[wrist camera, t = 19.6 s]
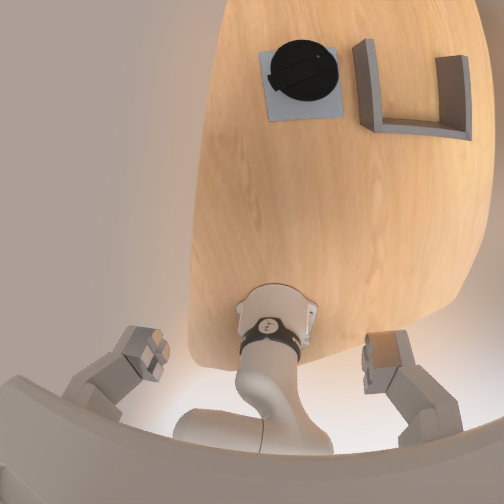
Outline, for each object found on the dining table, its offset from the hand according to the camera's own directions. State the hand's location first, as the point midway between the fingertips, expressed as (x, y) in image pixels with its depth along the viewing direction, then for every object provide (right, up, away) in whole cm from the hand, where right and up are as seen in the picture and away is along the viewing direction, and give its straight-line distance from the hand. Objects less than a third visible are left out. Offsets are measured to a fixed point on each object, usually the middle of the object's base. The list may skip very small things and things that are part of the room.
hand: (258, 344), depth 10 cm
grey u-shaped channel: (+24, +30, +23) cm, 45 cm away
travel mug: (+7, +30, +26) cm, 40 cm away
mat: (+8, +30, +26) cm, 40 cm away
